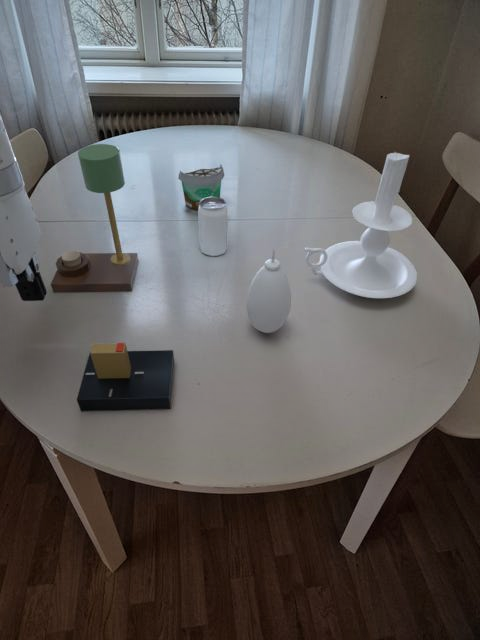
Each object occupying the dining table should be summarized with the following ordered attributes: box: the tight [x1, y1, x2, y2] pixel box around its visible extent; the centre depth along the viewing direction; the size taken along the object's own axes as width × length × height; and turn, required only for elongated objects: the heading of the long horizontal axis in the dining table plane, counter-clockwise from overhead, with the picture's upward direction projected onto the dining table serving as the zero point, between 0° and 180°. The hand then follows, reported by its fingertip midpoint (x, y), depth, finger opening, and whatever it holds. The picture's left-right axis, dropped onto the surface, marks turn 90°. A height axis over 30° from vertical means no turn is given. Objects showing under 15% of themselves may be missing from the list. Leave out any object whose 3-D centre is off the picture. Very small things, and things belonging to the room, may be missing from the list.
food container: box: [178, 163, 225, 212], centre depth 112 cm, size 12×6×10 cm, turn 114°
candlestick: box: [304, 151, 418, 299], centre depth 85 cm, size 21×25×28 cm
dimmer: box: [76, 349, 175, 412], centre depth 70 cm, size 14×10×3 cm
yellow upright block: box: [89, 342, 131, 379], centre depth 67 cm, size 5×2×6 cm, turn 93°
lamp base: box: [50, 251, 139, 293], centre depth 91 cm, size 16×11×4 cm
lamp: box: [77, 143, 130, 266], centre depth 82 cm, size 7×7×23 cm
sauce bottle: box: [246, 249, 292, 334], centre depth 76 cm, size 8×8×18 cm
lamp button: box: [61, 250, 82, 267], centre depth 89 cm, size 4×4×2 cm
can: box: [197, 197, 228, 257], centre depth 97 cm, size 6×6×12 cm
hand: (35, 297), depth 63 cm, fingers closed
